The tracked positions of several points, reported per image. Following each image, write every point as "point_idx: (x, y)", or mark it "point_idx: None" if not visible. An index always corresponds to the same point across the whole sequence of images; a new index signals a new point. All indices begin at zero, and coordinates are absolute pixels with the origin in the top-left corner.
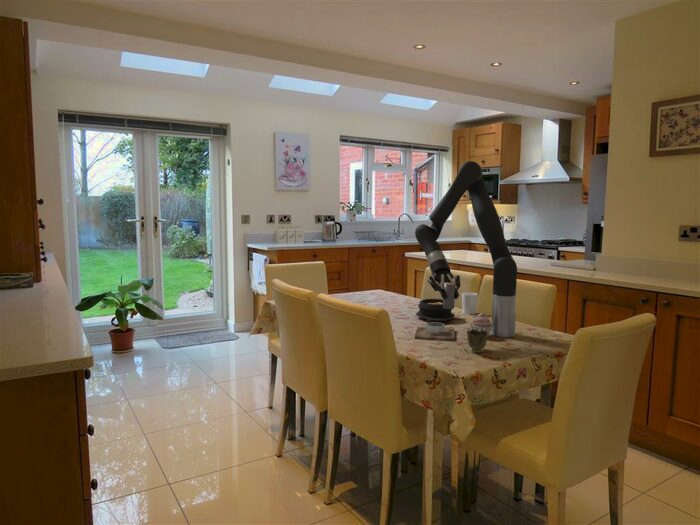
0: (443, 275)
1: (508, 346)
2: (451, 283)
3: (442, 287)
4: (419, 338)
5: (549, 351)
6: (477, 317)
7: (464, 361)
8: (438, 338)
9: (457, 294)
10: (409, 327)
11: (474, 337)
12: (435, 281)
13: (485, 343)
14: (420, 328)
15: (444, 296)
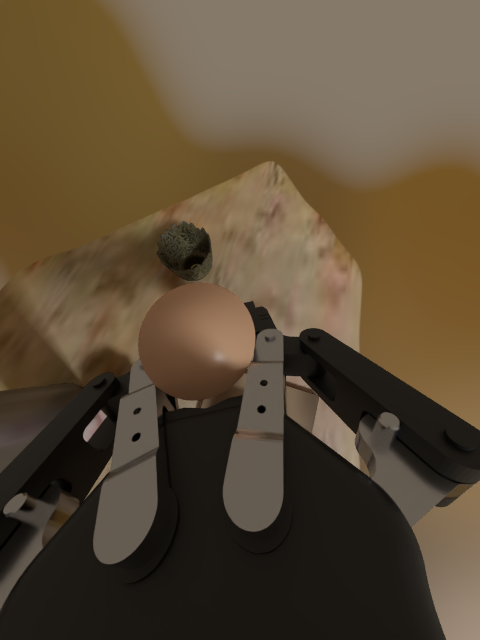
0: (231, 488)
1: (109, 308)
2: (185, 311)
3: (269, 332)
4: (304, 391)
5: (47, 269)
6: (102, 418)
7: (242, 222)
8: None
9: None
10: None
11: (201, 232)
12: (352, 379)
13: (176, 248)
14: None
15: (258, 307)
